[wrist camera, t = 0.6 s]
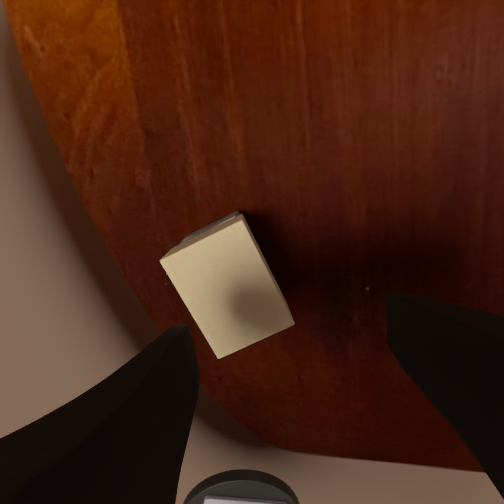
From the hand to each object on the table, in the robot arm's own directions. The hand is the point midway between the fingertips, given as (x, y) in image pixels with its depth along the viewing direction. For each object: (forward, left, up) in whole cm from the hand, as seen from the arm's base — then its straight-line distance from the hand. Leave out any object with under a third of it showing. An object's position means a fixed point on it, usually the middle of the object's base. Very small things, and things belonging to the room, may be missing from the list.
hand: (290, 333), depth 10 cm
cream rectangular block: (0, +2, -6) cm, 7 cm away
